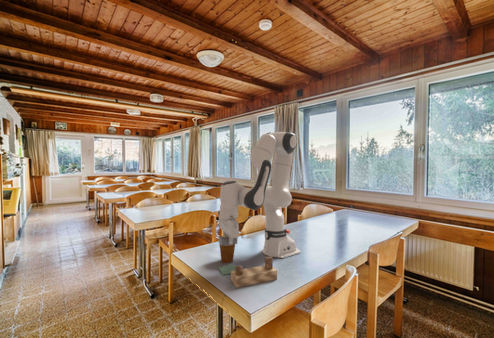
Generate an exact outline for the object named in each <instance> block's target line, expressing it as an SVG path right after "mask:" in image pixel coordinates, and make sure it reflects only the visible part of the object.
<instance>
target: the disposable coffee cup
mask: <svg viewBox="0 0 494 338" xmlns="http://www.w3.org/2000/svg"><path fill="white" fill-rule="evenodd" d="M218 244H219V250H220V258H221V259H220V261H221V263H223V264H232V263H233V262H234V256H235V248H236V244H232V245H223V246H221V245H220V243H219V242H218Z"/></svg>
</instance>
